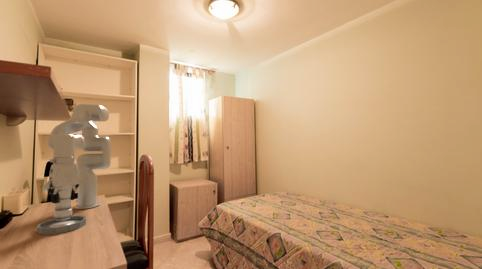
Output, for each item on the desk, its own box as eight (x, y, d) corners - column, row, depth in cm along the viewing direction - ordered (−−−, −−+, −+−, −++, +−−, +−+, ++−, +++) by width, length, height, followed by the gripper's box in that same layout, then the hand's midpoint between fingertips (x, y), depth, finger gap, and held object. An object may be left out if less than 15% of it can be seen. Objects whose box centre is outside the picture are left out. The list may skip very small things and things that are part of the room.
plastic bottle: (73, 220, 102) (74, 175, 103) (53, 223, 98) (54, 176, 99) (71, 216, 107) (72, 173, 108) (52, 220, 103) (53, 175, 104)
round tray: (28, 231, 98) (28, 225, 98) (71, 219, 113) (71, 214, 114) (51, 236, 91) (51, 230, 91) (94, 223, 106) (94, 217, 107)
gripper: (46, 162, 94) (45, 207, 93) (88, 159, 110) (88, 197, 109) (36, 162, 97) (35, 205, 97) (78, 159, 113) (78, 196, 112)
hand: (63, 200), depth 103 cm, fingers closed on plastic bottle, 6 cm apart
